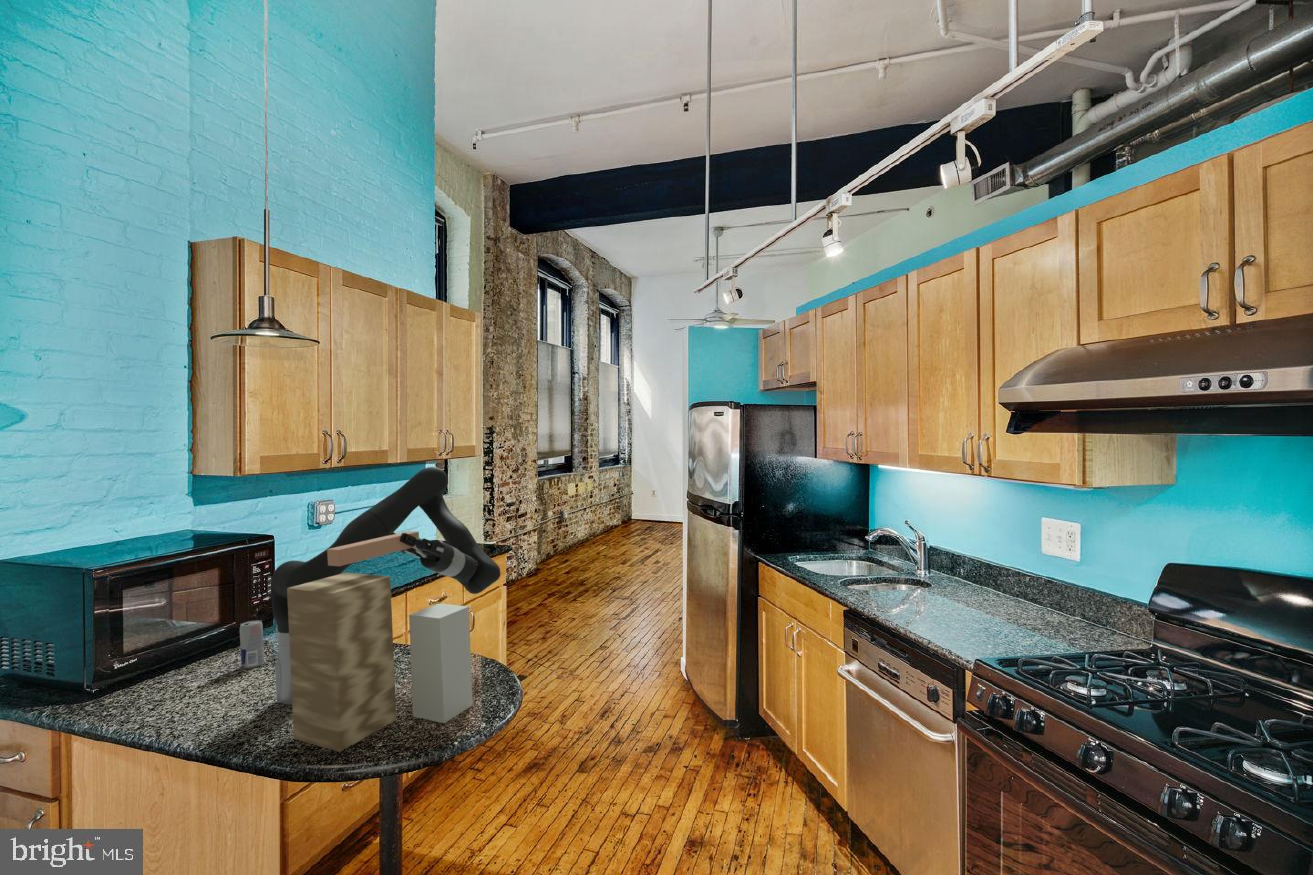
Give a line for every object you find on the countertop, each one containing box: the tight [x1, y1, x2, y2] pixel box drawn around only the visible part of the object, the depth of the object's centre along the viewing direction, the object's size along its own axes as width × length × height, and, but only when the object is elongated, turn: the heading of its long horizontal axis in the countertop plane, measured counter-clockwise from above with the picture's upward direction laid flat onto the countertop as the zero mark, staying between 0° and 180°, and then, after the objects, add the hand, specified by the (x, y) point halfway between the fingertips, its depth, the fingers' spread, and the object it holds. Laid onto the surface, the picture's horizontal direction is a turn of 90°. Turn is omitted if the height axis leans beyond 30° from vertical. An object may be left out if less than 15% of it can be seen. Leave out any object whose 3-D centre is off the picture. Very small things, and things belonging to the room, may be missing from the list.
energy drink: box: [239, 619, 265, 669], centre depth 168 cm, size 5×5×12 cm
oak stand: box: [287, 572, 397, 753], centre depth 128 cm, size 14×14×32 cm
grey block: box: [408, 603, 474, 724], centre depth 135 cm, size 9×9×23 cm
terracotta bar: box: [326, 530, 420, 566], centre depth 137 cm, size 22×4×4 cm, turn 156°
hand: (395, 536), depth 142 cm, fingers closed on terracotta bar, 3 cm apart
